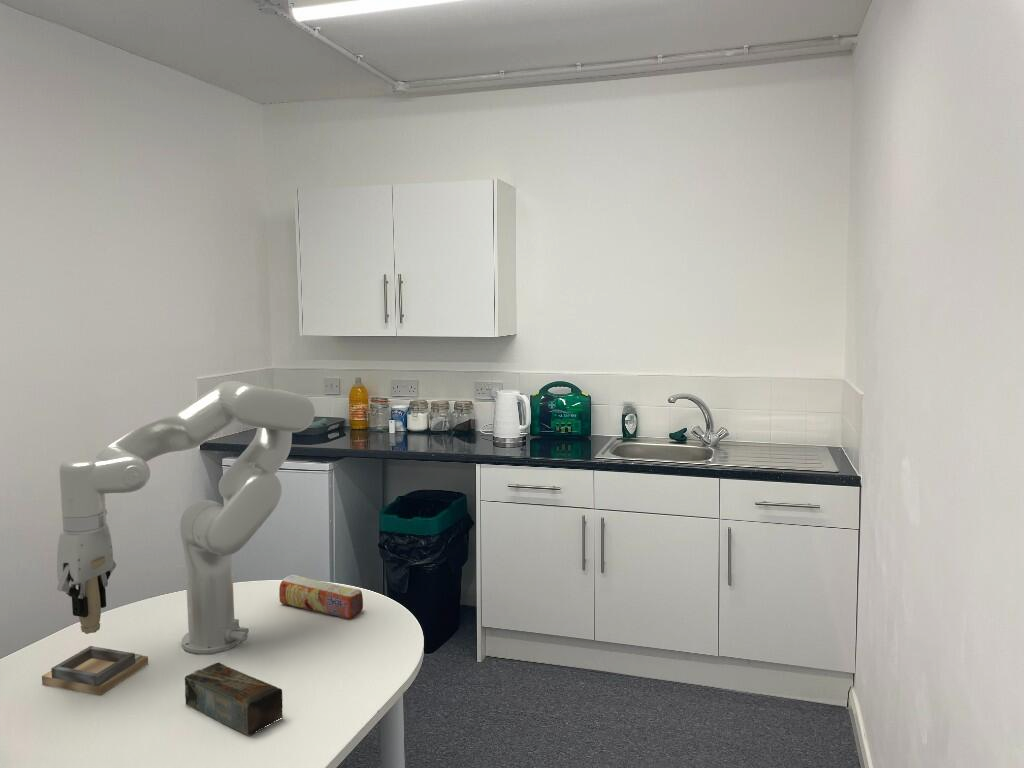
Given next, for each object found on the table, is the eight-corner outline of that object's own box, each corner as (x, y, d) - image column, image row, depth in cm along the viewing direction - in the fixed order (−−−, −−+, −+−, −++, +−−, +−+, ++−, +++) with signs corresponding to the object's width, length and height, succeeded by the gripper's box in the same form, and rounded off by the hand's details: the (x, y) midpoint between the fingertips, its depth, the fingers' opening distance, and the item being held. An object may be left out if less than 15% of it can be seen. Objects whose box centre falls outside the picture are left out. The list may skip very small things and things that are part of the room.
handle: (99, 637, 160) (95, 563, 158) (67, 635, 161) (63, 561, 159) (113, 626, 165) (109, 554, 163) (82, 625, 166) (78, 553, 164)
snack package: (365, 612, 198) (365, 585, 197) (349, 623, 192) (348, 595, 191) (294, 596, 207) (294, 570, 206) (277, 606, 201) (276, 579, 200)
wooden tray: (148, 664, 171) (147, 647, 170) (100, 695, 158) (99, 677, 158) (92, 655, 174) (91, 638, 174) (42, 684, 162) (40, 666, 162)
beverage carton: (220, 688, 162) (218, 656, 161) (285, 719, 151) (284, 686, 150) (184, 705, 155) (182, 673, 154) (249, 739, 145) (248, 704, 144)
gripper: (101, 507, 169) (105, 593, 171) (33, 532, 153) (39, 626, 156) (131, 511, 167) (135, 597, 169) (66, 536, 151) (71, 631, 153)
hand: (89, 610), depth 162 cm, fingers closed on handle, 3 cm apart
